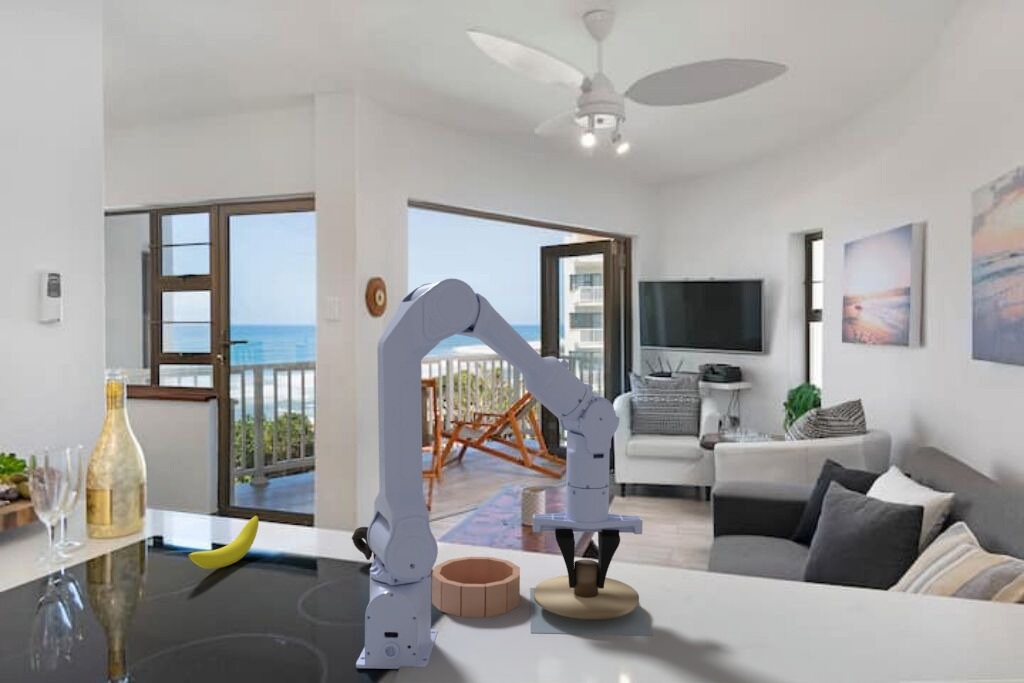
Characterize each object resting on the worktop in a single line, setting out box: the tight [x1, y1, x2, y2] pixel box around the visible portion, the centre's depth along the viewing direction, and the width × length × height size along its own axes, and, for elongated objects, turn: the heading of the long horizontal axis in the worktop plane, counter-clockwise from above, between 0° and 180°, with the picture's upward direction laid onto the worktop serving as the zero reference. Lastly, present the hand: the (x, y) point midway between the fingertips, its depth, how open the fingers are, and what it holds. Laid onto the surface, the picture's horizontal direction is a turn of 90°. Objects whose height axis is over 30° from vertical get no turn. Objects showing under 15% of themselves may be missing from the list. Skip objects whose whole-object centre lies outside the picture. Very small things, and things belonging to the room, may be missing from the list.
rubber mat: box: [529, 587, 653, 637], centre depth 91 cm, size 15×15×1 cm
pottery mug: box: [351, 526, 376, 561], centre depth 110 cm, size 12×10×8 cm
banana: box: [188, 512, 261, 570], centre depth 108 cm, size 3×19×6 cm, turn 171°
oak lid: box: [534, 558, 640, 619], centre depth 91 cm, size 14×14×5 cm
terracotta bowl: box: [431, 556, 521, 618], centre depth 94 cm, size 12×12×4 cm
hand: (586, 585), depth 91 cm, fingers closed on oak lid, 3 cm apart
